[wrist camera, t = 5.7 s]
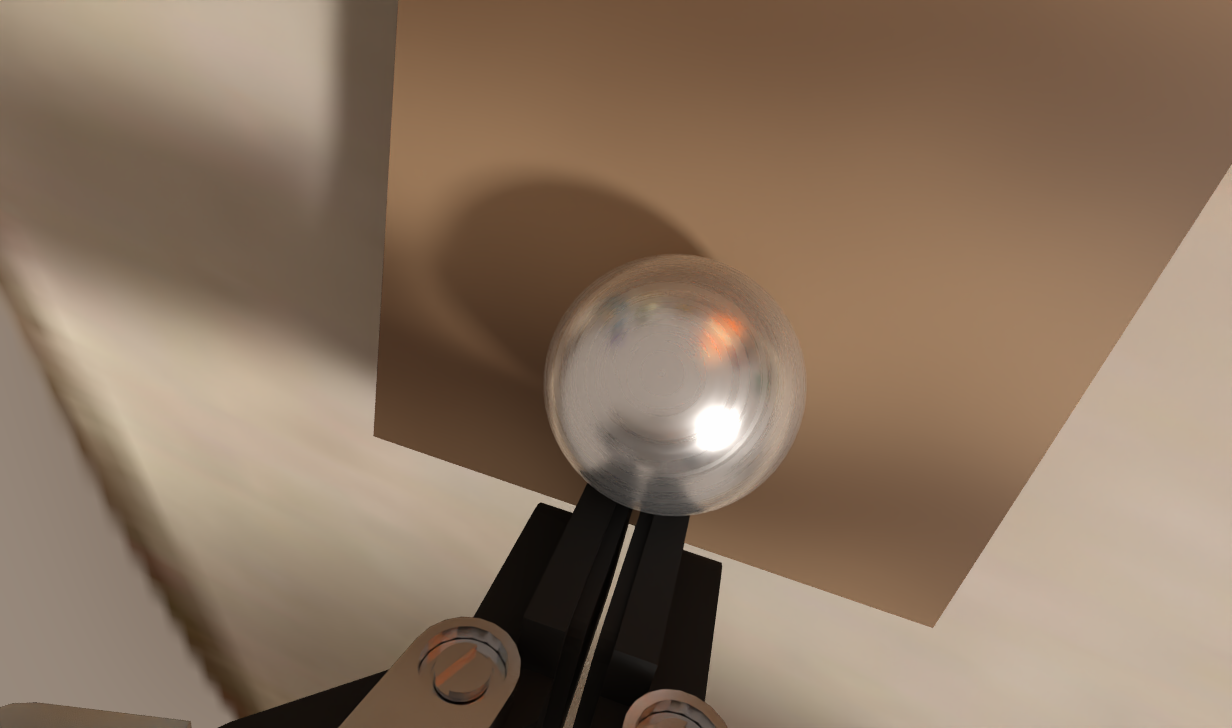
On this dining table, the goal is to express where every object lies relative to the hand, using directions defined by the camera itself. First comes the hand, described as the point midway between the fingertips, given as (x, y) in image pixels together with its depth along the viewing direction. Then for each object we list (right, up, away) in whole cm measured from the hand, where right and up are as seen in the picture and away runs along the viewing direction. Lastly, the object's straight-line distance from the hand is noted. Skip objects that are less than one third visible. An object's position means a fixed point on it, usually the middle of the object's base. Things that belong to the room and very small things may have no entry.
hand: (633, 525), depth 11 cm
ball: (0, +3, -2) cm, 4 cm away
